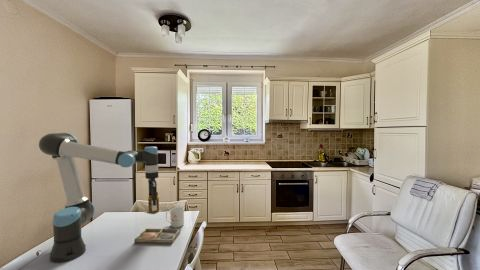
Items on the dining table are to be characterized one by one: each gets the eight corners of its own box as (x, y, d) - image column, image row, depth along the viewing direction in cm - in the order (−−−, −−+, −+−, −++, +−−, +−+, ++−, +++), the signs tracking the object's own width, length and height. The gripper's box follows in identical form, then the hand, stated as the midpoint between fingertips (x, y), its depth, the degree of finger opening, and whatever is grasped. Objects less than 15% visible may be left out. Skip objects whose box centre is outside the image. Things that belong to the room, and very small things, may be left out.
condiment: (154, 214, 137) (153, 194, 137) (143, 212, 140) (142, 193, 140) (162, 210, 144) (161, 191, 144) (152, 208, 147) (151, 190, 147)
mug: (185, 222, 160) (185, 207, 160) (182, 228, 151) (181, 211, 151) (168, 222, 160) (167, 207, 160) (164, 228, 151) (163, 211, 151)
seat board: (171, 244, 130) (171, 239, 130) (134, 243, 132) (134, 239, 132) (179, 232, 144) (179, 229, 144) (146, 232, 146) (145, 228, 146)
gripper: (161, 173, 134) (162, 212, 135) (155, 168, 151) (156, 203, 151) (148, 174, 131) (149, 214, 131) (143, 170, 147) (144, 205, 148)
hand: (153, 208), depth 141 cm, fingers closed on condiment, 6 cm apart
